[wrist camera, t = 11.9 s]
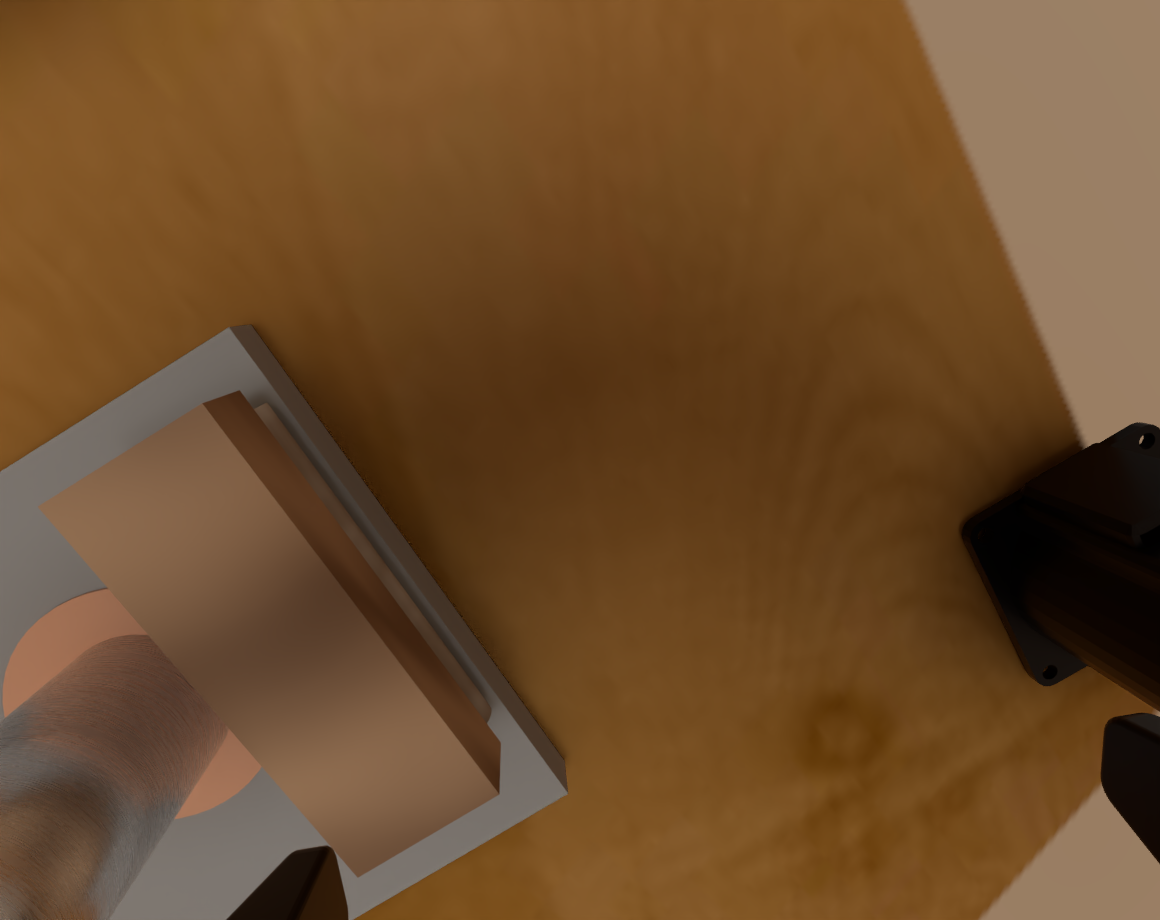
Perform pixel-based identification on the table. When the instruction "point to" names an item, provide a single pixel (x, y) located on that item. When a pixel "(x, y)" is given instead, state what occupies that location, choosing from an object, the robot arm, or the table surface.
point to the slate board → (234, 777)
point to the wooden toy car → (288, 626)
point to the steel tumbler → (96, 778)
